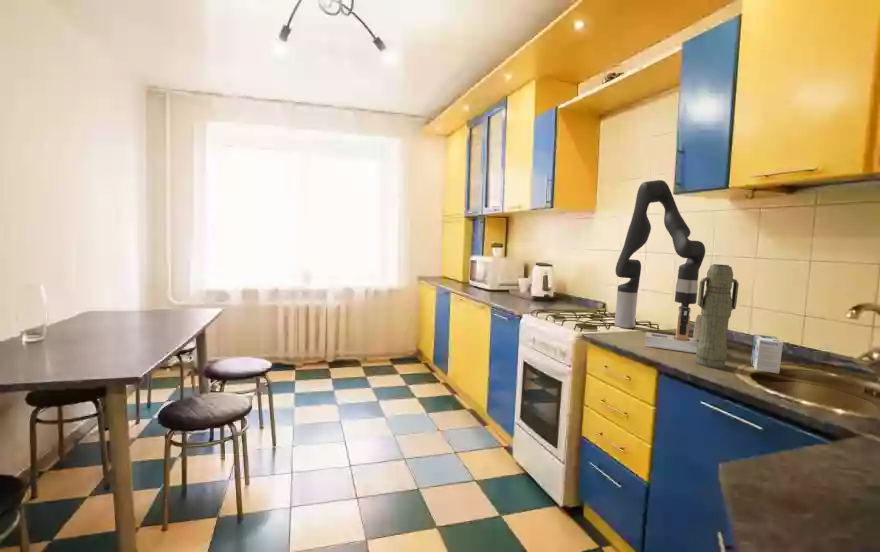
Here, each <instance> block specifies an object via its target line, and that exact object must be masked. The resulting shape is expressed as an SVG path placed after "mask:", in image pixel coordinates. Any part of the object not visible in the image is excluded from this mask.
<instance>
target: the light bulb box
mask: <svg viewBox="0 0 880 552" xmlns="http://www.w3.org/2000/svg"><path fill="white" fill-rule="evenodd" d="M783 347H784V341H782V340H780V339H779V338H778V337H777V336H772V335H763V334H753V339H752V350H751V359H750V364H751V366H752V367H753V366H754V367H753V368H754V370H755V371H759V372H766V373H771V374H772V373H773V374H780V368H781V361H782V353H783Z"/></svg>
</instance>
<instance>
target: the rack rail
mask: <svg viewBox="0 0 880 552" xmlns="http://www.w3.org/2000/svg"><path fill="white" fill-rule="evenodd" d="M645 332H646V333H645V338H644V339H645V342H644V346H645V347H648V348H656V349H664V350H671V351H677V352H685V353H689V354H690V353H692V354H696V352H697V344H698V342H699V340H700V339H697V338H693V337H689V336H688V341H685V340H678V339H676V335H671V334H664V333H657V332H649V331H645Z"/></svg>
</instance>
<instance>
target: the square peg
mask: <svg viewBox="0 0 880 552" xmlns="http://www.w3.org/2000/svg"><path fill="white" fill-rule="evenodd" d="M690 320H691V316H690V315H689V320H688V325H687V327H686V335H680V334H679V332H680V319H679V313H678V314H677V320H676V330H675V331H676V332H675V336H676V339H678V340H685V341H688V337H689V331H690ZM682 321H685V322H686V320H685V319H682Z"/></svg>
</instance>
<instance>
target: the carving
mask: <svg viewBox="0 0 880 552" xmlns="http://www.w3.org/2000/svg"><path fill="white" fill-rule="evenodd" d="M701 322H702V314H698V315H697V316H696V317H695V322H694V326H693V327H694V328H693V335H692V338H697V339H700V332H701Z"/></svg>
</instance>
